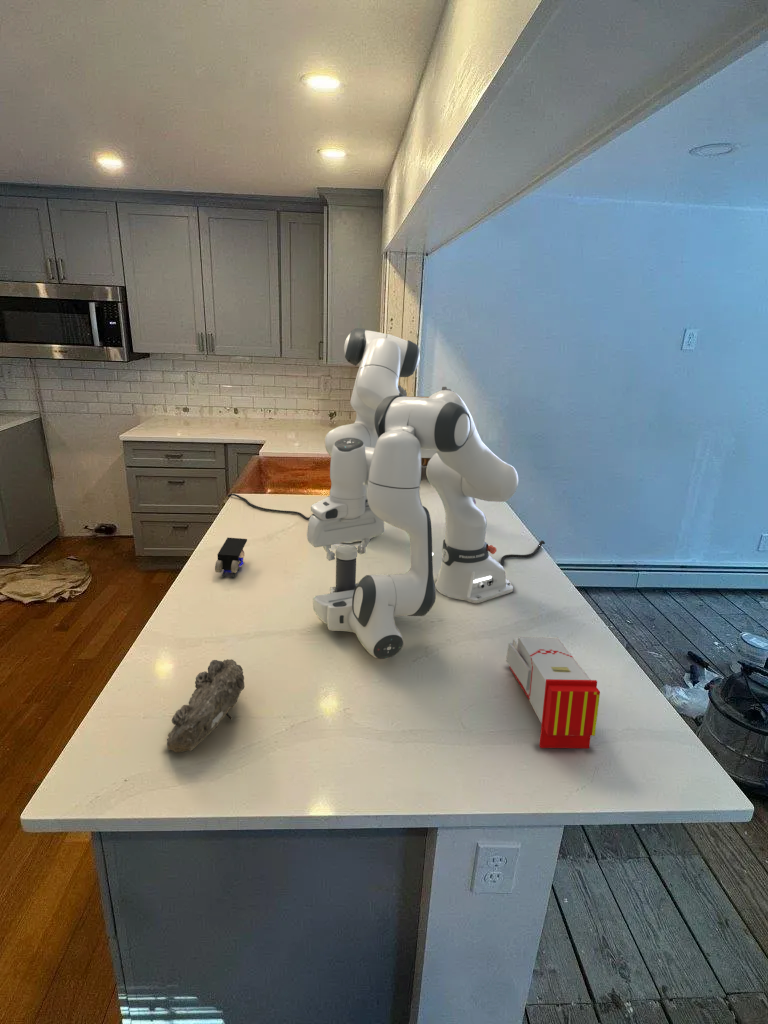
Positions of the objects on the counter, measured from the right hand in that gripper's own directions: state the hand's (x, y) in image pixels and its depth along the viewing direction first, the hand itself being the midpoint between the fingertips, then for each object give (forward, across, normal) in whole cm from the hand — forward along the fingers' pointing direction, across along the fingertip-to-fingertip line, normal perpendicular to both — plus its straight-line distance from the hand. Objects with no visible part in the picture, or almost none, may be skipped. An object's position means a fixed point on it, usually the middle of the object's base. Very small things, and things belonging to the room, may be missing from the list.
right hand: (344, 587), depth 148 cm
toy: (-50, -26, +5) cm, 57 cm away
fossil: (-32, +38, +6) cm, 50 cm away
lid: (-1, 0, -11) cm, 11 cm away
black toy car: (+31, +24, +6) cm, 39 cm away
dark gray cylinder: (-1, 0, +5) cm, 5 cm away
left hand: (-1, 0, -9) cm, 9 cm away
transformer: (+111, -77, +5) cm, 135 cm away
